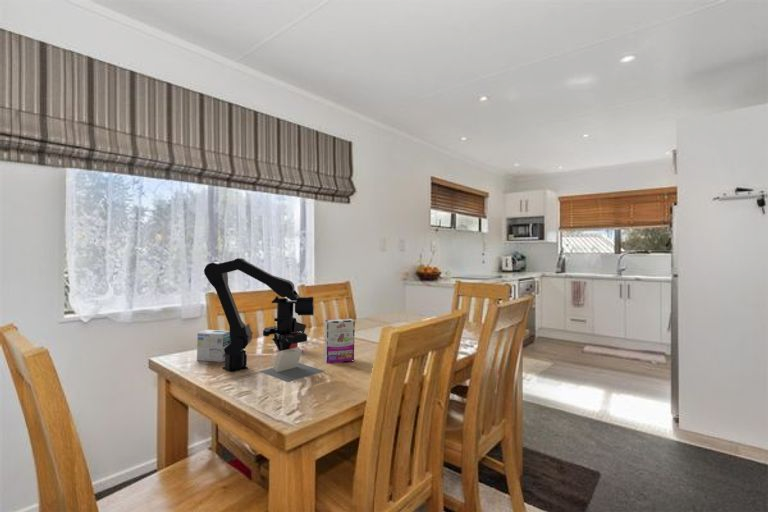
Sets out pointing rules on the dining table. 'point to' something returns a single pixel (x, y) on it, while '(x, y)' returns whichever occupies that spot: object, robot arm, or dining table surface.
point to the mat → (293, 372)
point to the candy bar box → (339, 340)
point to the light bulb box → (212, 345)
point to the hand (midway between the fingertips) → (284, 358)
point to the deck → (287, 359)
